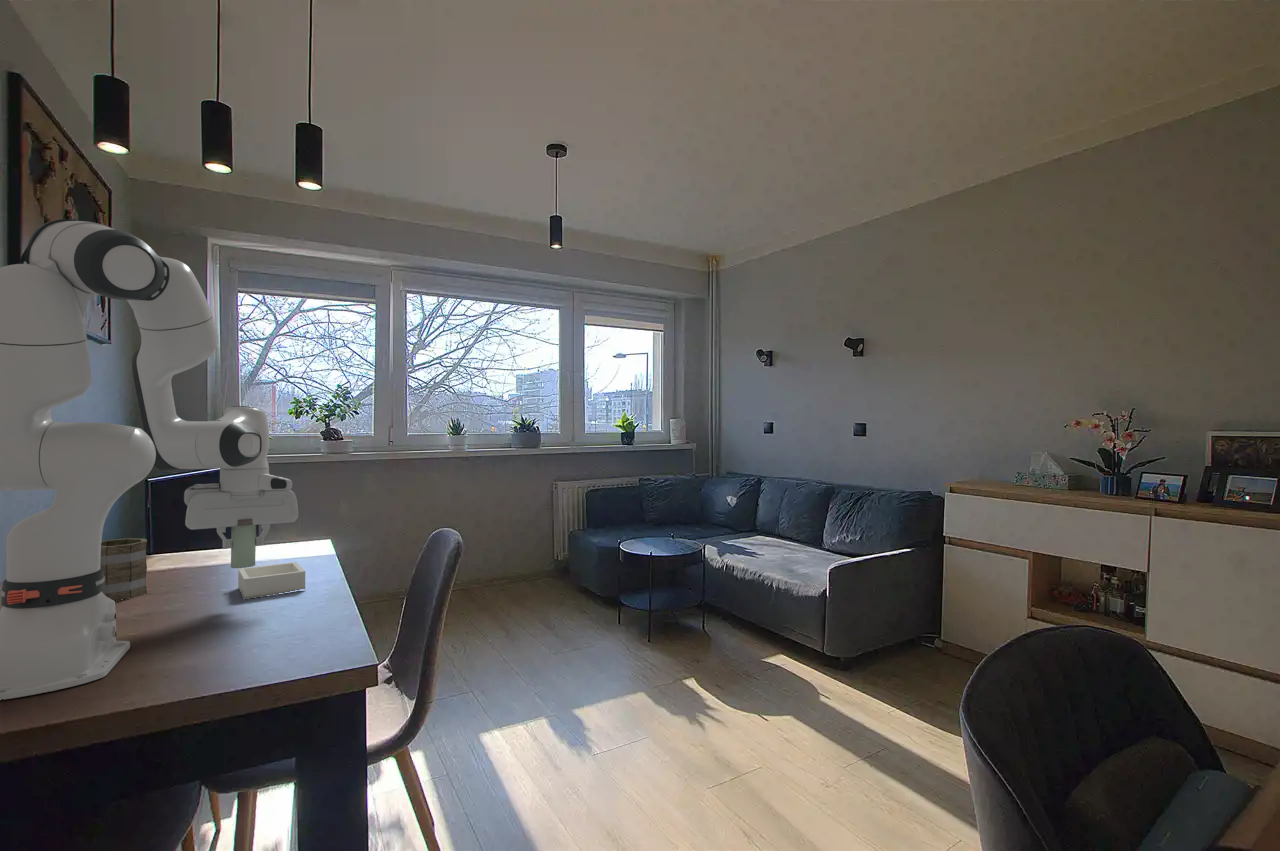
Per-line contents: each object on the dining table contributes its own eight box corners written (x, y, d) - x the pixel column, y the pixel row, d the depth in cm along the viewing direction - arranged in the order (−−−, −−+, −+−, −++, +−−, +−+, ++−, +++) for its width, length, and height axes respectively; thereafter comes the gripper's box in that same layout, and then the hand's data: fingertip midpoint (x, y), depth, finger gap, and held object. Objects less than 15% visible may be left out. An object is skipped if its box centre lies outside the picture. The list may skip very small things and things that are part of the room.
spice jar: (257, 566, 129) (258, 518, 129) (231, 569, 126) (232, 520, 126) (254, 563, 133) (255, 516, 133) (228, 565, 130) (229, 518, 130)
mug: (158, 592, 138) (159, 540, 138) (100, 605, 129) (101, 549, 129) (121, 584, 145) (121, 534, 145) (63, 596, 135) (63, 542, 135)
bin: (305, 591, 141) (305, 571, 141) (243, 600, 133) (244, 579, 133) (296, 580, 150) (296, 561, 150) (238, 588, 142) (238, 568, 142)
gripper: (185, 485, 121) (183, 554, 120) (300, 480, 134) (299, 543, 133) (183, 483, 126) (182, 550, 125) (294, 479, 139) (294, 540, 138)
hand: (243, 546), depth 129 cm, fingers closed on spice jar, 4 cm apart
